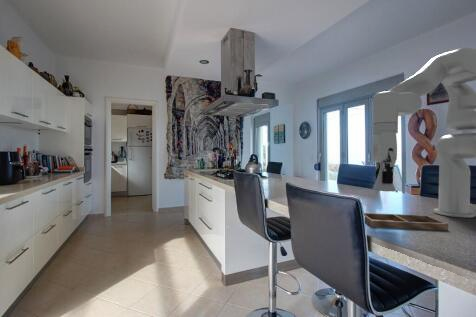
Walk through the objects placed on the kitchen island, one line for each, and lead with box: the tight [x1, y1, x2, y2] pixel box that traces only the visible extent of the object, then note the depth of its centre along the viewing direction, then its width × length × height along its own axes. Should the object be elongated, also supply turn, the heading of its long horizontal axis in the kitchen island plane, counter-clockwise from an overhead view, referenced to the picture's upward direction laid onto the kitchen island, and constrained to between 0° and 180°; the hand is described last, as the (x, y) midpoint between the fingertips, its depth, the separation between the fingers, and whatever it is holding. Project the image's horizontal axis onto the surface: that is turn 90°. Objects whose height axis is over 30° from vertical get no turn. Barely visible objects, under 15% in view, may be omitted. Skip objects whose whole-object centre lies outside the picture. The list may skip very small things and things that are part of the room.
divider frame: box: [363, 212, 449, 231], centre depth 89 cm, size 22×12×2 cm, turn 81°
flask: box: [372, 161, 397, 192], centre depth 89 cm, size 7×7×10 cm
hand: (384, 181), depth 89 cm, fingers closed on flask, 4 cm apart
